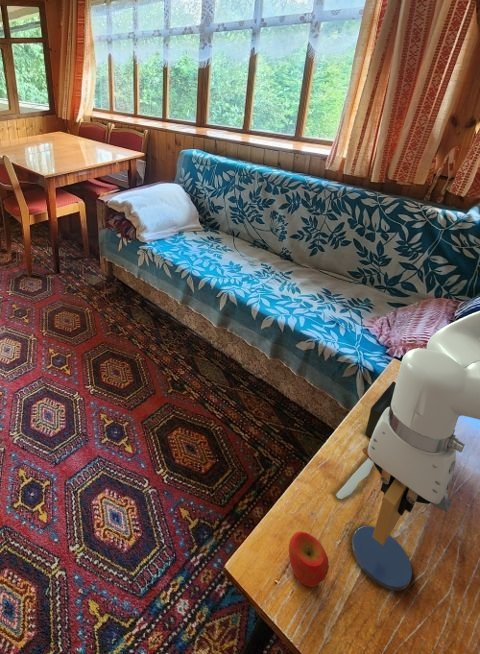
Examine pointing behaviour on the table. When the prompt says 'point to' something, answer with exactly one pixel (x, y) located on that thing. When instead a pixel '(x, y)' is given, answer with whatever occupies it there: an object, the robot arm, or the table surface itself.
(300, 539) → the apple
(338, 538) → the table surface
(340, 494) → the butter knife
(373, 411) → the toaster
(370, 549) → the plate
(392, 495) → the toast
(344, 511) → the table surface
